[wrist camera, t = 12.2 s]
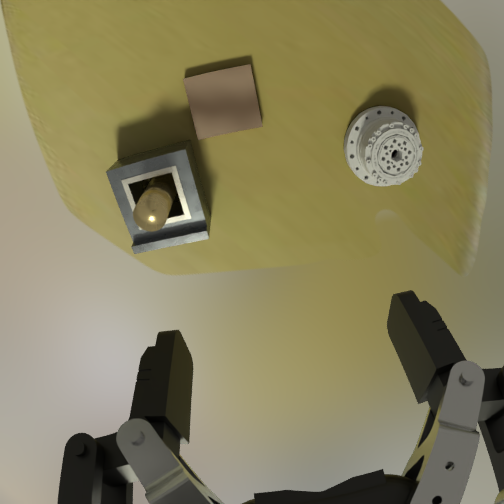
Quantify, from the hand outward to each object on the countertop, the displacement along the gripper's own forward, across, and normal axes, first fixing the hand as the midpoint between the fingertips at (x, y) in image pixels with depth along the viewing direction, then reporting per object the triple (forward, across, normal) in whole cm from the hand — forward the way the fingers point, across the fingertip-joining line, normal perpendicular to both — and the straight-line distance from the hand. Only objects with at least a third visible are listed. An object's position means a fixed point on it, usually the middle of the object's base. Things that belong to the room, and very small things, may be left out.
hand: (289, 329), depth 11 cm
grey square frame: (+27, +11, +3) cm, 29 cm away
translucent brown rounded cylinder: (+27, +11, +3) cm, 29 cm away
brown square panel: (+27, +2, -5) cm, 28 cm away
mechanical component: (+28, -16, +2) cm, 32 cm away
